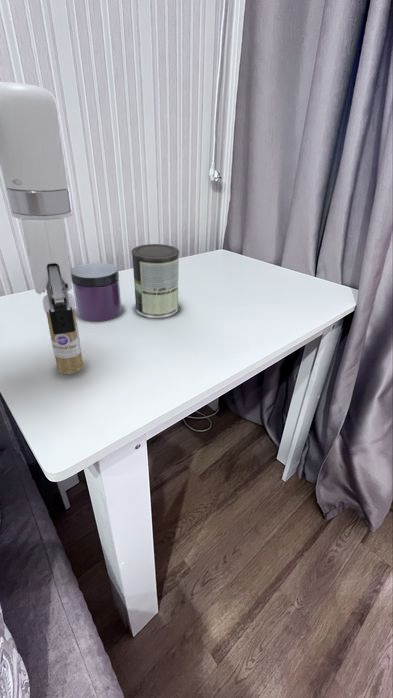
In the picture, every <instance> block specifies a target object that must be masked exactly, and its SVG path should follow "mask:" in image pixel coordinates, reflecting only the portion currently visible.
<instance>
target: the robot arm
mask: <svg viewBox="0 0 393 698" xmlns="http://www.w3.org/2000/svg"><path fill="white" fill-rule="evenodd" d="M60 120H61V119H60V114H59V107H58V102H57V100H56V98H55V96H54V95H53V93H52V92H51V90H49V89H47V88H45V87H42V86H39V85H34V84H30V83H22V82H14V81H13V82H12V81H0V169H1V174H2V177H3V178H2V179H3V182H4V187H5V191H6V195H7V199H8V205H9V209H10V213H11V216H12V217H14V218H15V219H20V220H21V225H22V231H23V237H24V242H25V243H24V244H25V248H26V252H27V257H28V262H29V267H30V271H31V276H32V280H33V286H34V290H35V293H36V294H37V295H42V293H46V295H48V300H49V305H50V310H49V314H50V319H51V324H52V329H53V333H54V334H63V333H70V332H74V331H75V324H74V318H73V312H72V307H70V303H69V297H68V293H69V292H70V291H71V290H73V285H72V278H71V269H72V268H71V259H70V251H69V244H68V238H67V237H68V236H67V230H66V229H67V228H66V221H65V219H66V218H69V217H71V216H73V209H72V201H71V194H70V193H71V192H70V188H69V187H70V186H69V180H68V172H67V171H68V170H67V164H66V156H65V150H64V149H65V148H64V141H63V135H62V134H63V133H62V129H61V121H60ZM63 293H64V297H63ZM52 295H53V296H54V298H52Z"/></svg>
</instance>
